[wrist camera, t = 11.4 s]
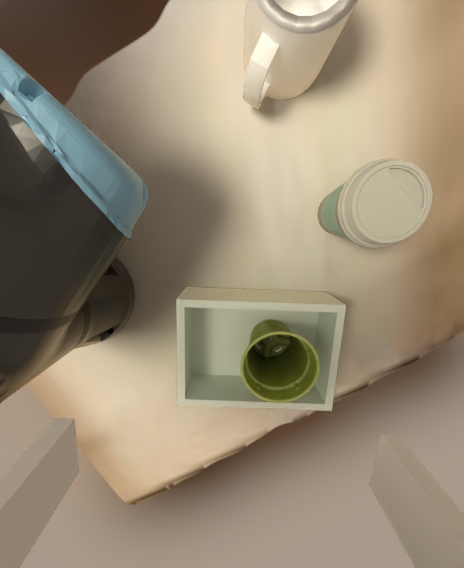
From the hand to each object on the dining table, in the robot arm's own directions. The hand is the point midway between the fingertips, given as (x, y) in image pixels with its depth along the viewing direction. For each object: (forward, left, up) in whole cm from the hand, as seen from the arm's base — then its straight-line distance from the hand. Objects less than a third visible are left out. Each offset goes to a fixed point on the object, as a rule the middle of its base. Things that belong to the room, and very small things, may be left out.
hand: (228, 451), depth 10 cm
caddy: (+4, -7, -27) cm, 28 cm away
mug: (+5, +30, -27) cm, 41 cm away
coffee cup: (+15, +12, -27) cm, 33 cm away
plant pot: (+6, -6, -26) cm, 28 cm away
